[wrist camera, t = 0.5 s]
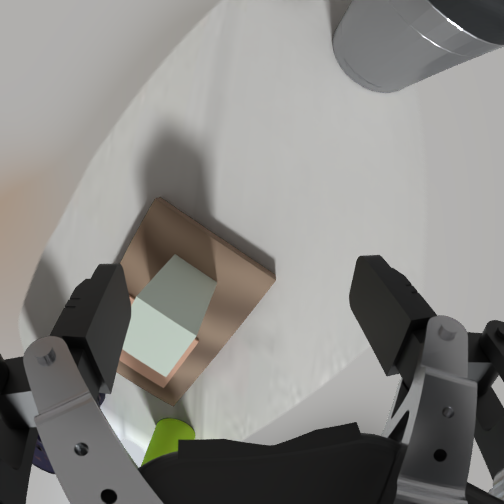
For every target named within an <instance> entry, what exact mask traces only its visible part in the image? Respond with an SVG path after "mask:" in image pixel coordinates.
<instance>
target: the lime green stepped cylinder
mask: <svg viewBox="0 0 504 504" xmlns="http://www.w3.org/2000/svg"><path fill="white" fill-rule="evenodd" d="M194 438H195V432H194V430H193V429H192V428H191V427H190V426H189V425H188V424H186V423H184V422H182V421H180V420H177V419H171V418H167V419H162V420H160V421H159V422H158V423H157V425H156V428H155V431H154V433H153V436H152V438H151V441H150V444H149V446H148V449H147V452H146V454H145V457H144V460H143V462H142V465H143V464H145V463H147V462H149V461H150V460H152V459H155V458H157V457H159V456H161V455H165V454H168V453H171V452H176V451H178V439H180V440H194ZM142 465H141V466H142Z"/></svg>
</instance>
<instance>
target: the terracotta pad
mask: <svg viewBox="0 0 504 504" xmlns="http://www.w3.org/2000/svg"><path fill="white" fill-rule="evenodd" d="M129 297H130V301H131V306H132V304H133V302H134V300H135V298H133V297H132V296H130V295H129ZM198 342H199V340H197V339H196V338H195V339H194V340H193V342H192V343H191V344H190V346H189V347H188V348H187V350H186V351H185V352H184V354H183V355H182V357H181V358H180V359H179V361H178V362H177V363H176V365H175V366H174V367H173V369H172V370H171V371H170V373H169V374H168V375H167V377H165V376H163V375H162V374H160V373H158V372H157V371H155V370H154V369H152V368H150V367H149V366H147V365H146V364H144V363H142V362H141V361H139V360H138V359H136V358H135V357H133V356H132V355H130V354H129V353H127V352H126V351H124V350H123V349H122V352H121V356H120V359H119V360H120V361H121V362H123V363H124V364H126V365H127V366H129V367H130V368H132V369H133V370H135V371H136V372H138V373H140V374H141V375H143V376H144V377H146V378H148V379H149V380H151V381H152V382H154V383H156V384H157V385H159V386H161V387H163V388H164V387H165V386H166V385H167V383H168V382H169V381H170V379H171V378H172V377H173V375H174V374H175V373H176V371H177V370H178V369H179V367H180V366H181V365H182V363H183V362H184V361H185V359H186V358H187V357H188V355H189V354H190V353H191V352H192V350H193V349H194V348H195V346H196V345H197V344H198Z"/></svg>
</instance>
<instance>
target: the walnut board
mask: <svg viewBox="0 0 504 504" xmlns="http://www.w3.org/2000/svg"><path fill="white" fill-rule="evenodd" d="M175 254H176V255H177V256H179V257H180V258H181V259H183V260H184V261H186V262H187V263H189V264H190V265H192V266H193V267H195V268H196V269H198V270H199V271H201V272H202V273H204V274H205V275H207V276H208V277H210V278H211V279H213V280H215V281H216V282H217V285H216V287H215V290H214V293H213V295H212V298H211V300H210V303H209V305H208V308H207V310H206V313H205V316H204V318H203V321H202V323H201V326H200V329H199V331H198V334H197V336H196V339H197V340H199V342H198V344H197V345H196V346H195V348H194V349H193V350H192V352H191V353H190V354H189V355H188V357H187V358H186V359H185V361H184V362H183V363H182V365H181V366H180V367H179V369H178V370H177V371H176V373H175V374H174V375H173V377H172V378H171V379H170V381H169V382H168V383H167V385H166V386H165V387H164V388H163V387H161V386H159V385H157V384H156V383H154V382H152V381H151V380H149V379H148V378H146V377H144V376H143V375H141V374H140V373H138V372H136V371H135V370H133V369H132V368H130V367H129V366H127V365H126V364H124V363H123V362H121V361H120V360H119V363H118V367H117V371H116V372H117V373H119V374H120V375H122V376H123V377H125V378H126V379H128V380H129V381H131V382H133V383H134V384H136V385H137V386H139V387H141V388H142V389H144V390H146V391H147V392H149V393H151V394H152V395H154V396H156V397H157V398H159V399H161V400H163V401H164V402H166V403H168V404H170V405H171V406H174V405H175V404H176V403H177V402H178V400H179V399H180V398H181V397H182V396H183V394H184V393H185V392H186V391H187V390H188V389H189V387H190V386H191V385H192V384H193V383H194V381H195V380H196V379H197V378H198V377H199V375H200V374H201V373H202V372H203V371H204V369H205V368H206V367H207V366H208V365H209V363H210V362H211V361H212V360H213V359H214V357H215V356H216V355H217V354H218V352H219V351H220V350H221V349H222V348H223V346H224V345H225V344H226V343H227V341H228V340H229V339H230V338H231V336H232V335H233V334H234V333H235V331H236V330H237V329H238V328H239V326H240V325H241V324H242V323H243V322H244V320H245V319H246V318H247V316H248V315H249V314H250V313H251V311H252V310H253V309H254V308H255V306H256V305H257V304H258V303H259V301H260V300H261V299H262V298H263V296H264V295H265V294H266V292H267V291H268V290H269V289H270V287H271V286H272V285H273V283H274V282H275V281H276V275H275V274H274V273H272V272H271V271H269V270H268V269H266V268H265V267H263V266H262V265H260V264H259V263H257V262H256V261H254V260H253V259H251V258H250V257H248V256H247V255H245V254H244V253H242V252H241V251H239V250H238V249H236V248H235V247H233V246H232V245H230V244H229V243H227V242H226V241H224V240H223V239H221V238H220V237H218V236H217V235H215V234H214V233H212V232H211V231H209V230H208V229H206V228H205V227H204V226H202V225H201V224H199V223H198V222H196V221H195V220H193V219H192V218H190V217H189V216H187V215H186V214H184V213H183V212H181V211H180V210H178V209H177V208H175V207H174V206H172V205H171V204H169V203H168V202H167V201H165V200H164V199H162V198H161V197H159V198H156V199H154V201H153V203H152V205H151V206H150V208H149V210H148V212H147V214H146V215H145V217H144V219H143V221H142V222H141V224H140V226H139V228H138V230H137V232H136V234H135V235H134V237H133V239H132V241H131V243H130V245H129V247H128V249H127V251H126V253H125V254H124V256H123V258H122V260H121V262H120V264H121V265H122V267H123V270H124V275H125V279H126V284H127V288H128V293H129V295H130V296H132V297H133V298H136V296H137V295H138V294H139V293H140V292H141V291H142V290H143V289H144V287H145V286H146V285H147V284H148V283H149V282H150V281H151V280H152V279H153V277H154V276H155V275H156V274H157V273H158V272H159V271H160V270H161V269H162V268H163V266H164V265H165V264H166V263H167V262H168V261H169V260H170V259H171V258H172V257H173V256H174V255H175Z"/></svg>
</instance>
